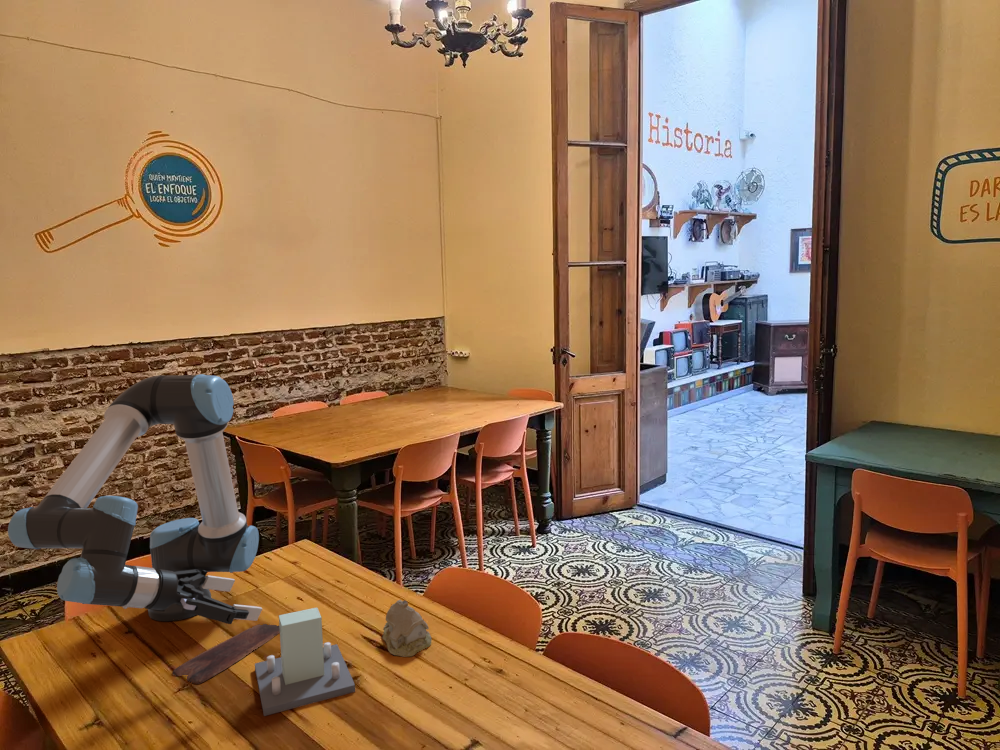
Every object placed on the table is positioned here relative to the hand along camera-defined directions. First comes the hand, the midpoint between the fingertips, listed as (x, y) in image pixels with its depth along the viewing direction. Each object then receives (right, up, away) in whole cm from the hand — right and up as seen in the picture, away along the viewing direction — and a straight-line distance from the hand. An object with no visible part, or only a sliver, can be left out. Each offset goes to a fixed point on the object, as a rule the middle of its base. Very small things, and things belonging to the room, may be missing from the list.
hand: (245, 599), depth 145 cm
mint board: (+13, -15, -3) cm, 20 cm away
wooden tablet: (-7, -16, +10) cm, 20 cm away
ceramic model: (+33, -15, +13) cm, 39 cm away
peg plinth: (+13, -17, -2) cm, 21 cm away
